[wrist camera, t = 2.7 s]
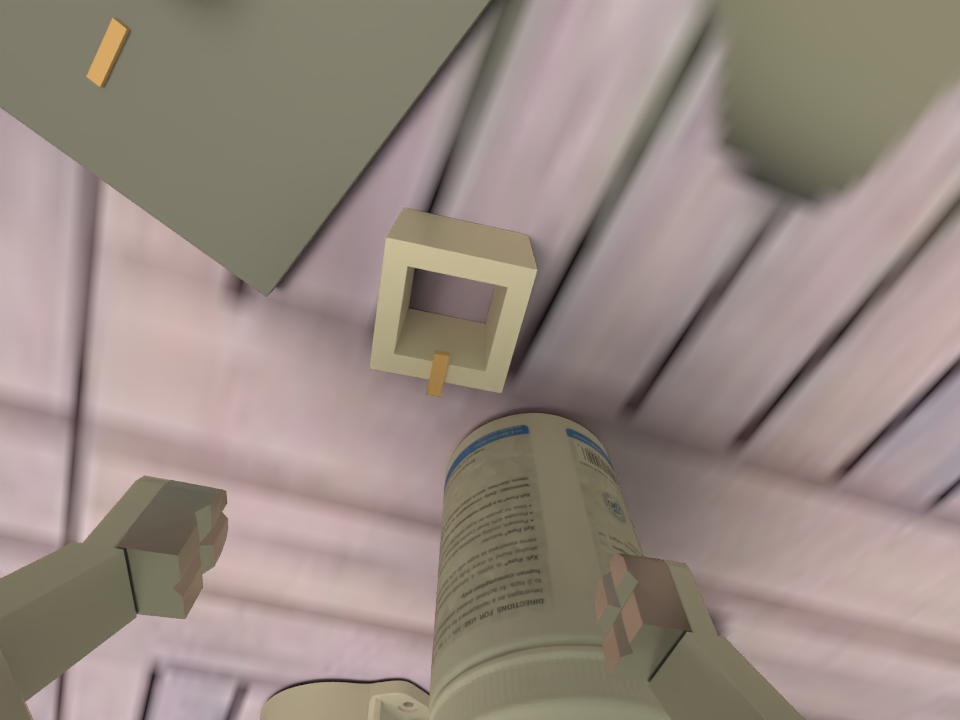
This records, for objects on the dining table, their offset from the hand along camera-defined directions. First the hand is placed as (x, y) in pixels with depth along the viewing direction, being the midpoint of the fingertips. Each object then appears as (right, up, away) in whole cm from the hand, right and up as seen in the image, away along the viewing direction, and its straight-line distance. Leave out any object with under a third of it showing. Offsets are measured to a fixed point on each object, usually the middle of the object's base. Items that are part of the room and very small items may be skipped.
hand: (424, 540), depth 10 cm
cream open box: (0, +8, +13) cm, 15 cm away
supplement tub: (+4, -3, +19) cm, 20 cm away
